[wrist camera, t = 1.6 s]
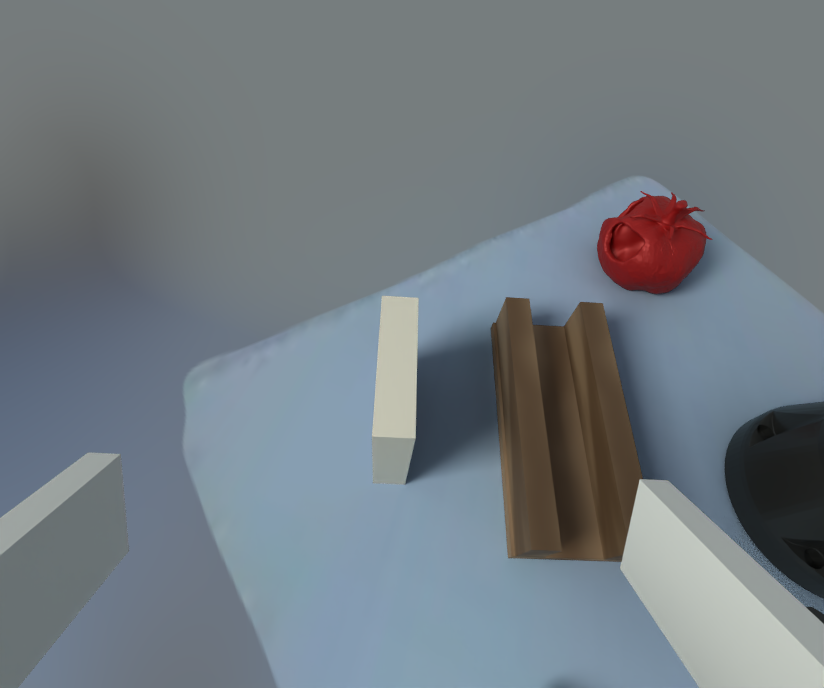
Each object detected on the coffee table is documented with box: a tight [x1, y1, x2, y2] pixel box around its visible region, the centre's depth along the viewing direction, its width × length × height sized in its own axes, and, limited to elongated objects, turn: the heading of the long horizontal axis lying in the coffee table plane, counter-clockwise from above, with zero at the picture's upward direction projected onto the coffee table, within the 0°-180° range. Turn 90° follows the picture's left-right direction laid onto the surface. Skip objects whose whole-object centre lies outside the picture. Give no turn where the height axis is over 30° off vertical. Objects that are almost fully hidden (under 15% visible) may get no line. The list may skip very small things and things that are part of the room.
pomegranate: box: [597, 191, 711, 294], centre depth 45 cm, size 10×10×9 cm
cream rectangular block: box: [372, 296, 418, 485], centre depth 34 cm, size 2×10×11 cm, turn 179°
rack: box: [491, 297, 643, 562], centre depth 37 cm, size 9×20×5 cm, turn 179°
